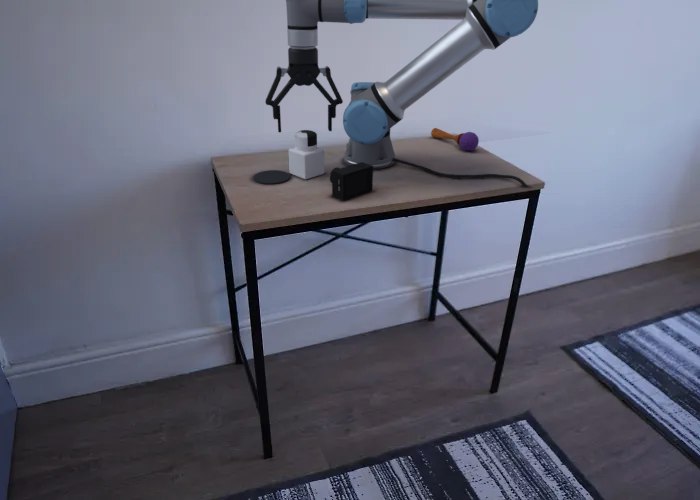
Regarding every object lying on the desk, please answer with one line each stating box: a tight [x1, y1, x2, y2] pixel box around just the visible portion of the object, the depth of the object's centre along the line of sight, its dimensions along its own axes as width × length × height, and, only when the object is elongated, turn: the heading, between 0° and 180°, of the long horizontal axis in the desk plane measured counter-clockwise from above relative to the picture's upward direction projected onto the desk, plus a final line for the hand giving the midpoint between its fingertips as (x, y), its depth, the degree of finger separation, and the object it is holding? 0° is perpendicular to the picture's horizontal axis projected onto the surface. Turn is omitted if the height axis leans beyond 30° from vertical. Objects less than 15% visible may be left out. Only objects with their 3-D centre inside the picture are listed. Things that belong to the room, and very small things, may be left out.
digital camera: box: [329, 162, 374, 202], centre depth 134 cm, size 10×5×7 cm, turn 133°
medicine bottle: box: [288, 129, 325, 181], centre depth 145 cm, size 7×7×12 cm
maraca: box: [430, 127, 480, 152], centre depth 173 cm, size 6×6×20 cm
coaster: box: [253, 169, 291, 185], centre depth 145 cm, size 10×10×1 cm
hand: (304, 130), depth 142 cm, fingers open, 13 cm apart
